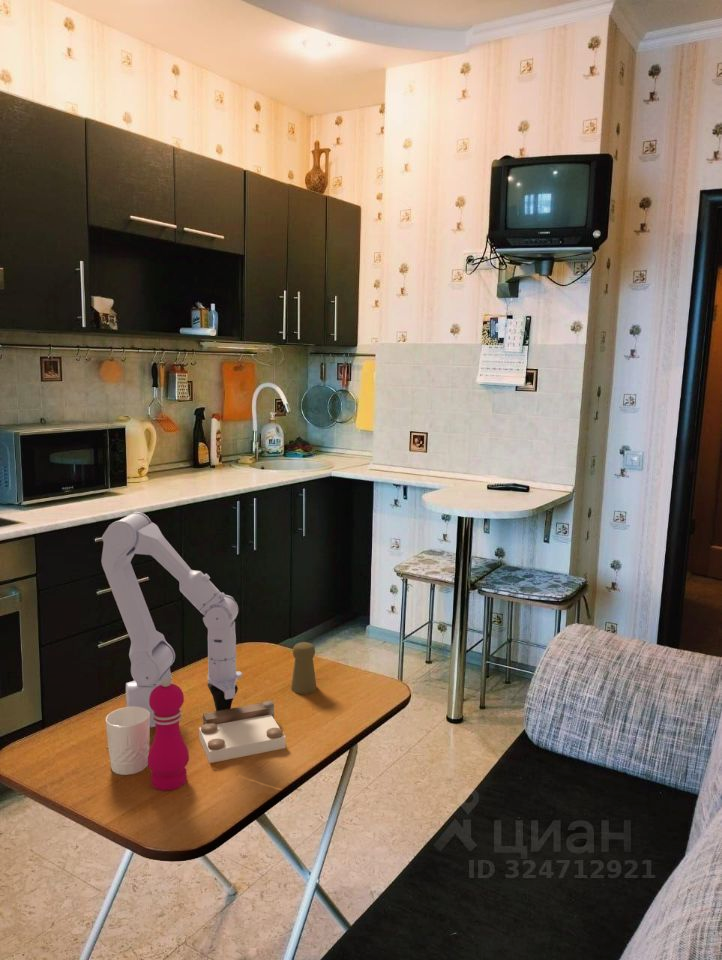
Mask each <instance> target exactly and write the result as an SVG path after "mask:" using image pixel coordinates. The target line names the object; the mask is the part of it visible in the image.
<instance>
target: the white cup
mask: <svg viewBox="0 0 722 960" xmlns="http://www.w3.org/2000/svg"><path fill="white" fill-rule="evenodd" d="M105 726H106V727H105V728H106V737H107V738H106V739H107V747H108V755H109V761H110V768H111V771H112V772H113V773H114V774H117V775H121V776H129V775H135V774H138V773H140V772H142V771H144V770H145V769H147V767H148V755H149V751H150V741H151V740H150V735H151V734H150V732H151V730H150V712H149V711H148V710H147V709H145V708H142V707H126V706H125V707H121V708H117V709H115V710H113V711H110V713H108V714H107V715H106V717H105Z"/></svg>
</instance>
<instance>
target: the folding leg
mask: <svg viewBox="0 0 722 960" xmlns="http://www.w3.org/2000/svg"><path fill="white" fill-rule="evenodd" d="M265 715H272V717H273V718H274V719H275V702H274V701H272V700H267V701H263V702H260V703H253V704H248V705H242V706H237V707H231V709H225V710H220V711H216V710H215V711H210V712H204V713H202V723H203V724H202V725H204V724H207V723H214V724H221V723H227V722H232V721H238V720H243V719H249V718H254V717H260V716H265Z"/></svg>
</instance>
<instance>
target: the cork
mask: <svg viewBox="0 0 722 960" xmlns="http://www.w3.org/2000/svg"><path fill="white" fill-rule="evenodd" d="M292 656H293V658H294V662H293V663H294V664H293V665H294V666H293V672H292V679H291V688H290V690H291V691H292V692H293V693H295V694H298V695H309V694H313V693H314V692H316V691H317V688H318V687H317V680H316V672H315V665H314V657H315V656H316V649H315V646H314V644H312V643H310V642H307V641H301V642H298V643H296V644H294V646H293V648H292Z"/></svg>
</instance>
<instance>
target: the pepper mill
mask: <svg viewBox="0 0 722 960" xmlns="http://www.w3.org/2000/svg"><path fill="white" fill-rule="evenodd" d="M184 697H185V696H184V692H183V690H182V689H181V688H180V686H178V685H177V684H174V683H172V684H171V679H170V678H169V677H164V678H162V680H161V685H159V686H157V687H156V688H154V689H153V691H152V692H151V694H150V697H149V705H150V707H151V709H152V710H153V714H152V715H153V722H154V723H155V725H156V727H155V734H154V738H153V741H152V744H151V745H150V747H149V755H148V765H147V767H149V770H150V771H151V773H150V781H151V782H150V783H151V786H152V787H153V788H154V789H156V790H159V791H172V790H173V791H174V790H176V789H178V788H180V787H182V786H183V785H184V784H185V783H186V781H187V779H188V775H187V774H188V773H187V772H188V771H187V768H186V766H187V765H188V763H189V760H190V754H189V749H188V746H187V744H186V742H185V741H184V737H183V735H182V734H181V730H180V721H181V718H182V708H181V707H183V705H184V702H185V701H184V700H185V698H184Z"/></svg>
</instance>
